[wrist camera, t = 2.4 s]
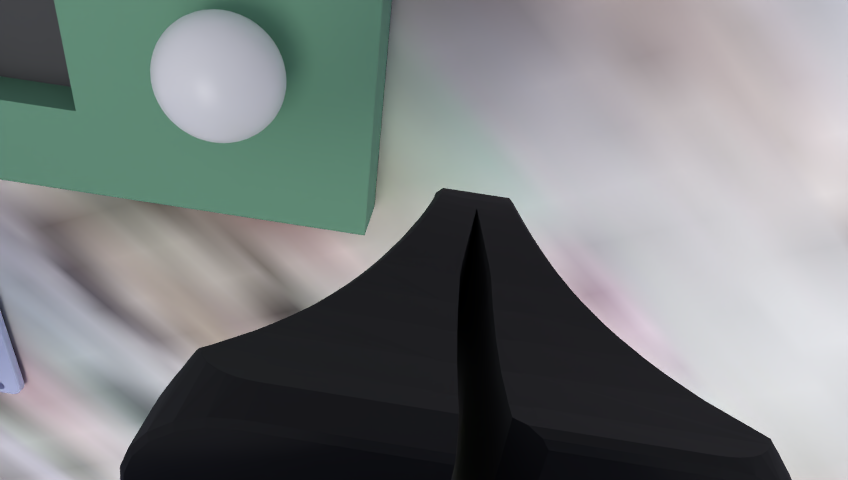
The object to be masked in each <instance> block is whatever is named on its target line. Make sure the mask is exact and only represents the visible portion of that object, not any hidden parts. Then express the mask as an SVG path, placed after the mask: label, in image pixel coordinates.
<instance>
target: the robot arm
mask: <svg viewBox="0 0 848 480" xmlns="http://www.w3.org/2000/svg"><path fill="white" fill-rule="evenodd" d="M23 387H24V381H23V378H22V375H21V372H20V369H19V366H18V363H17V360H16V357H15V353H14V350H13V347H12V344H11V341H10V338H9V335H8V332H7V329H6V326H5V323H4V320H3V317H2V314H1V311H0V392H5V393H11V394H17V393H19V392H20V391H21V390H22V389H23ZM120 480H792V479H791V477H790V475H789V473H788V471H787V469H786V467H785V465H784V463H783V461H782V459H781V457H780V455H779V453H778V452H777V450H776V448H775V446H774V444H773V443H772V441H771V439H770V438H768V437H766V436H765V435H763V434H761V433H759V432H758V431H756V430H754V429H753V428H751V427H749V426H747V425H746V424H744V423H742V422H740V421H739V420H737V419H735V418H733V417H732V416H730V415H728V414H727V413H725V412H723V411H721V410H720V409H718V408H716V407H714V406H713V405H711V404H709V403H708V402H706V401H704V400H703V399H701V398H700V397H698V396H697V395H695V394H694V393H692V392H691V391H689V390H688V389H686V388H685V387H683V386H682V385H680V384H679V383H677V382H676V381H674V380H673V379H672V378H670V377H669V376H667V375H666V374H664V373H663V372H662V371H660V370H659V369H658V368H656V367H655V366H654V365H652V364H651V363H650V362H648V361H647V360H646V359H644V358H643V357H642V356H641V355H639V354H638V353H637V352H636V351H635V350H633V349H632V348H631V347H630V346H628V345H627V344H626V343H625V342H624V341H622V340H621V339H620V338H619V337H618V336H617V335H615V334H614V333H613V332H612V331H611V330H610V329H609V328H608V327H607V326H605V325H604V324H603V323H602V322H601V321H600V320H599V319H598V318H597V317H596V316H595V315H594V314H593V313H592V312H591V311H590V310H589V309H588V308H587V307H586V306H585V305H584V304H583V303H582V302H581V301H580V299H579V298H578V297H577V296H576V295H575V294H574V293H573V292H572V290H571V289H570V288H569V287H568V286H567V284H566V283H565V282H564V281H563V280H562V278H561V277H560V276H559V275H558V273H557V272H556V271H555V269H554V268H553V267H552V265H551V264H550V262H549V261H548V260H547V258H546V257H545V255H544V254H543V252H542V251H541V249H540V248H539V246H538V245H537V243H536V242H535V240H534V239H533V237H532V235H531V234H530V232H529V230H528V229H527V227H526V225H525V224H524V222H523V220H522V219H521V217H520V215H519V213H518V211H517V210H516V208H515V206H514V204H513V203H512V201H511V200H510V199H509V198H504V197H498V196H491V195H485V194H478V193H472V192H465V191H458V190H452V189H445V188H443V189H441V190H440V191H438V192H436V194H435V197H434V198H433V200H432V202H431V203H430V205H429V206H428V208H427V209H426V210H425V212H424V213H423V214H422V216H421V217H420V218H419V219H418V221H417V222H416V223H415V224H414V225H413V226H412V227H411V229H410V230H409V231H408V232H407V233H406V234H405V235H404V236H403V237H402V239H401V240H400V241H399V242H397V243H396V244H395V245H394V246H393V247H392V248H391V249H390V250H389V251H388V252H387V253H386V254H385V255H384V256H383V257H382V258H380V259H379V260H378V261H377V262H376V263H375V264H373V265H372V266H371V267H370V268H369V269H367V270H366V271H365V272H363V273H362V274H361V275H359V276H358V277H357V278H355V279H354V280H353V281H351V282H350V283H348V284H347V285H346V286H344V287H342V288H341V289H339V290H338V291H336V292H334V293H333V294H331V295H330V296H328V297H326V298H325V299H323V300H321V301H320V302H318V303H316V304H314V305H312V306H310V307H309V308H306V309H304V310H302V311H300V312H298V313H296V314H294V315H292V316H290V317H287V318H285V319H282V320H280V321H278V322H275V323H273V324H271V325H268V326H266V327H263V328H260V329H258V330H255V331H252V332H249V333H246V334H243V335H240V336H237V337H234V338H231V339H228V340H225V341H222V342H219V343H216V344H213V345H209V346H206V347H202V348H199V349H198V350H196V351H195V353H194V354H193V355H192V356H191V358H190V359H189V360H188V361H187V363H186V364H185V365H184V366H183V368H182V369H181V370H180V371H179V372H178V374H177V375H176V376H175V377H174V378H173V380H172V381H171V382H170V384H169V385H168V386H167V387H166V389H165V390H164V391H163V393H162V394H161V395H160V397H159V398H158V400H157V402H156V403H155V405H154V406H153V408H152V410H151V411H150V413H149V415H148V416H147V418H146V419H145V421H144V423H143V424H142V426H141V428H140V429H139V431H138V433H137V434H136V436H135V438H134V439H133V441H132V443H131V444H130V446H129V448H128V450H127V452H126V454H125V457H124V459H123V461H122V463H121V465H120Z"/></svg>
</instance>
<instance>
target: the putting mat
mask: <svg viewBox="0 0 848 480" xmlns="http://www.w3.org/2000/svg"><path fill="white" fill-rule="evenodd" d="M391 3H392V0H0V179H1V180H8V181H14V182H21V183H27V184H34V185H40V186H47V187H53V188H60V189H66V190H73V191H79V192H86V193H92V194H99V195H105V196H112V197H118V198H125V199H131V200H138V201H144V202H151V203H157V204H164V205H170V206H177V207H183V208H190V209H196V210H203V211H209V212H216V213H223V214H229V215H236V216H242V217H249V218H255V219H262V220H268V221H275V222H281V223H288V224H294V225H301V226H307V227H314V228H320V229H327V230H333V231H340V232H346V233H353V234H359V235H365V232H366V229H367V226H368V224H369V221H370V218H371V215H372V212H373V209H374V204H375V192H376V180H377V168H378V157H379V145H380V133H381V121H382V109H383V98H384V86H385V74H386V62H387V50H388V39H389V27H390V15H391ZM209 9H219V10H226V11H231V12H234V13H237V14H240V15H242V16H244V17H246V18H248V19H250V20H252V21H253V22H255V23H256V24H257V25H259V26H260V27H261V28H262V29H263V30H264V31H265V32H266V33H267V34H268V35H269V36H270V37H271V39H272V40H273V41H274V43H275V44H276V46H277V48H278V49H279V52H280V54H281V56H282V59H283V62H284V66H285V71H286V81H287V82H286V92H285V97H284V101H283V103H282V106H281V108H280V110H279V112H278V114H277V115H276V117H275V118H274V119H273V121H272V122H271V123H270V124H269V125H268V126H267V127H266V128H265V129H264V130H262V131H261V132H259V133H258V134H256V135H254V136H252V137H250V138H248V139H245V140H242V141H238V142H232V143H215V142H209V141H204V140H201V139H198V138H196V137H194V136H192V135H190V134H188V133H186V132H185V131H183V130H182V129H180V128H179V127H177V126H176V125H175V124H174V123H173V122H172V121H171V120H170V119H169V118H168V117H167V116H166V114H165V113H164V112H163V110H162V109H161V107H160V105H159V103H158V102H157V99H156V97H155V95H154V92H153V89H152V84H151V77H150V64H151V58H152V54H153V50H154V48H155V45H156V43H157V41H158V40H159V38H160V36H161V35H162V34H163V32H164V31H165V30H166V29H167V28H168V27H169V26H170V25H171V24H172V23H174V22H175V21H176V20H178V19H179V18H181V17H183V16H185V15H187V14H190V13H193V12H195V11H200V10H209Z"/></svg>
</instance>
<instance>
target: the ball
mask: <svg viewBox="0 0 848 480" xmlns="http://www.w3.org/2000/svg"><path fill="white" fill-rule="evenodd" d="M150 77H151V84H152V89H153V92H154V95H155V97H156V99H157V102H158V103H159V105H160V107H161V109H162V110H163V112H164V113H165V114H166V116H167V117H168V118H169V119H170V120H171V121H172V122H173V123H174V124H175V125H176V126H177V127H179V128H180V129H182V130H183V131H185V132H186V133H188V134H190V135H192V136H194V137H196V138H198V139H201V140H204V141H209V142H215V143H232V142H238V141H242V140H245V139H248V138H250V137H252V136H254V135H256V134H258V133H259V132H261V131H262V130H264V129H265V128H266V127H267V126H268V125H269V124H270V123H271V122H272V121H273V119H274V118H275V117H276V115H277V114H278V112H279V110H280V108H281V106H282V103H283V101H284V97H285V92H286V82H287V81H286V71H285V66H284V62H283V59H282V56H281V54H280V52H279V49H278V48H277V46H276V44H275V43H274V41H273V40H272V39H271V37H270V36H269V35H268V34H267V33H266V32H265V31H264V30H263V29H262V28H261V27H260V26H259V25H257V24H256V23H255V22H253V21H252V20H250V19H248V18H246V17H244V16H242V15H240V14H237V13H234V12H231V11H226V10H219V9H209V10H200V11H195V12H193V13H190V14H187V15H185V16H183V17H181V18H179V19H178V20H176V21H175V22H174V23H172V24H171V25H170V26H169V27H168V28H167V29H166V30H165V31H164V32H163V34H162V35H161V36H160V38H159V40H158V41H157V43H156V45H155V48H154V50H153V54H152V58H151V64H150Z"/></svg>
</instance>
